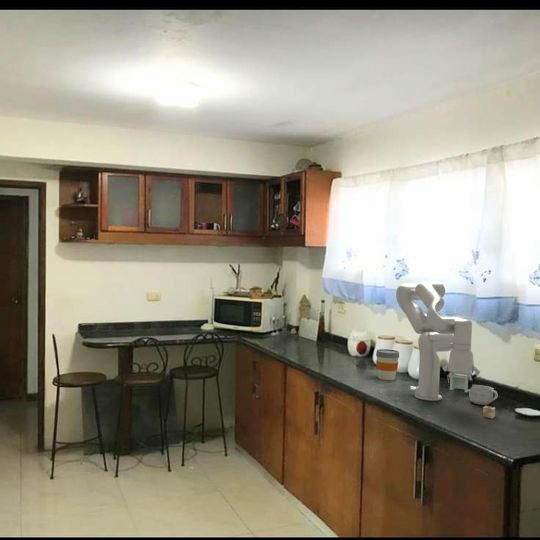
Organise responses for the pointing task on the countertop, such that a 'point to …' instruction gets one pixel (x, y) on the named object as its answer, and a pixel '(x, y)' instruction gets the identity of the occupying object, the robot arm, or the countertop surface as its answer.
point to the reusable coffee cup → (387, 363)
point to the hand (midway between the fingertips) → (460, 387)
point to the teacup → (482, 394)
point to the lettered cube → (489, 412)
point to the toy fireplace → (459, 382)
